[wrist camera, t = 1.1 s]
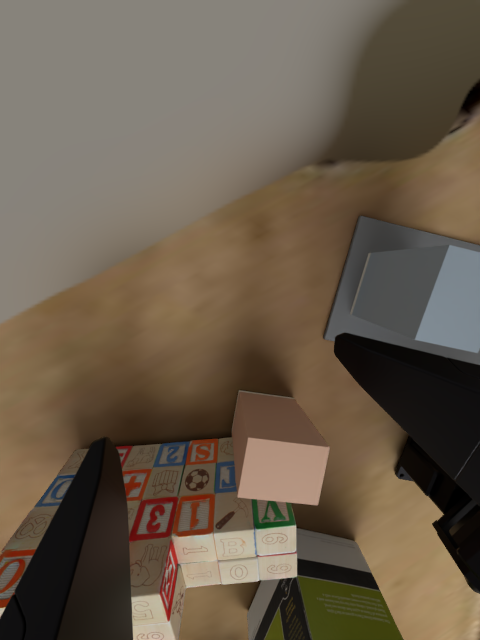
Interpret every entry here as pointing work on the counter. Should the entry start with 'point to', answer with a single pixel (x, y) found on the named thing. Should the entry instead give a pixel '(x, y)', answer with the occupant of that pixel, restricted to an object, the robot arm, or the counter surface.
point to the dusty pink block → (277, 450)
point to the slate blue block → (423, 294)
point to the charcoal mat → (364, 241)
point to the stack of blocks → (174, 530)
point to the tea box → (322, 596)
